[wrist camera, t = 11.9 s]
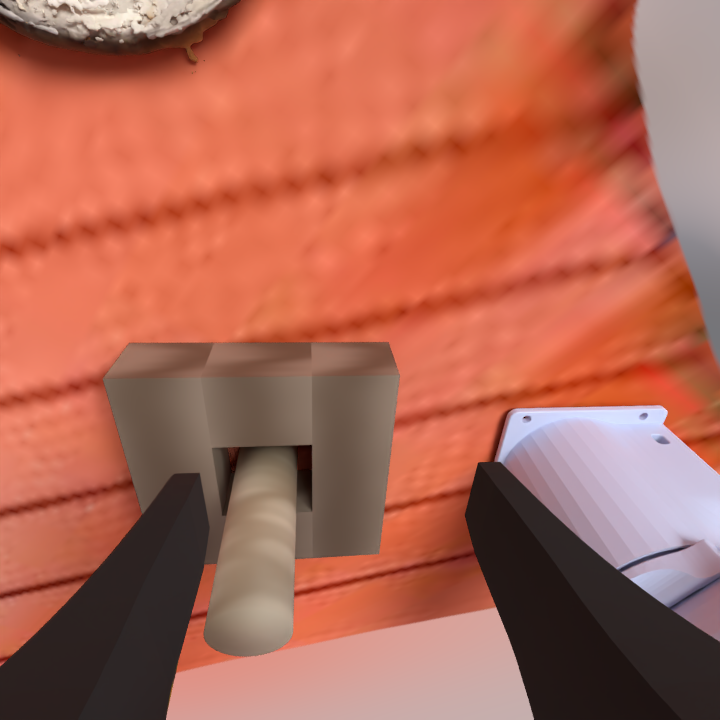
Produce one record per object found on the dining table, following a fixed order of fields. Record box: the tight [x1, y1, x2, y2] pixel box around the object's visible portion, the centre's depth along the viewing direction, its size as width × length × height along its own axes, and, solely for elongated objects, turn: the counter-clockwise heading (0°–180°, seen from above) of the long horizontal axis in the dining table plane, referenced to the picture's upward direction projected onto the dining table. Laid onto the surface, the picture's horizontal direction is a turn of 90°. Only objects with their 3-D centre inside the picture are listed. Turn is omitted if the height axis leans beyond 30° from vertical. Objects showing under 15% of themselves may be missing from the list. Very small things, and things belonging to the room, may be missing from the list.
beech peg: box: [204, 445, 298, 657], centre depth 19 cm, size 3×3×10 cm
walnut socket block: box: [103, 342, 400, 564], centre depth 22 cm, size 12×12×3 cm
